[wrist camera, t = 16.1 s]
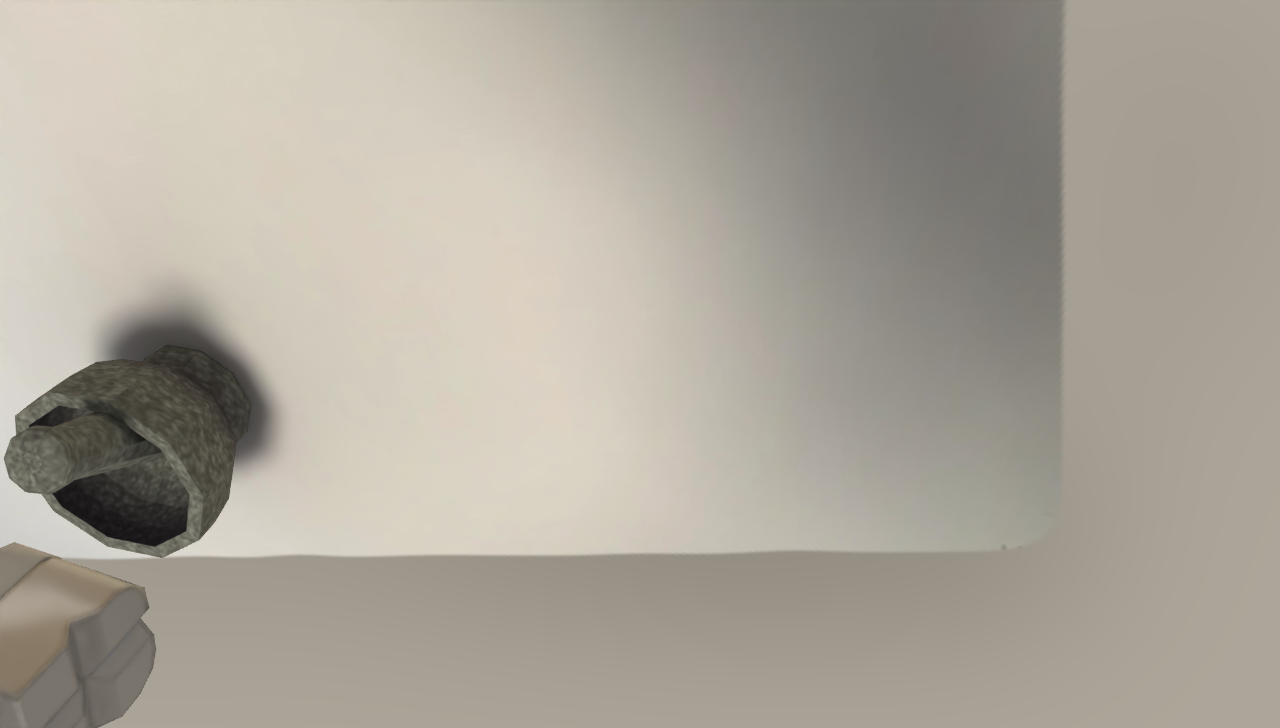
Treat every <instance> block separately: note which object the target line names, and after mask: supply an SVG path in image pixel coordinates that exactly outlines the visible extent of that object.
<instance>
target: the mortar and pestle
mask: <svg viewBox="0 0 1280 728" xmlns="http://www.w3.org/2000/svg"><path fill="white" fill-rule="evenodd" d="M250 406H251V405H250V404H249V402H248V400H247V398H246V397H245V395H244V393H243V391H242V390H241V388H240V386H239V384H238V382H237V381H236V379H235V377H234V375H233V374H232V373H230V372H229V371H228V370H226V369H225V368H223V367H222V366H221V365H219V364H218V363H216V362H215V361H214V360H212V359H211V358H209V357H208V356H207V355H205V354H204V353H202V352H201V351H197V350H191V349H185V348H179V347H172V346H165V347H163V348H161V349H160V350H158V351H157V352H155V353H154V354H152V355H151V356H149V357H148V358H146V359H145V360H144V361H143V362H137V361H131V360H125V359H121V360H112V361H103V362H96V363H94V364H92V365H90V366H88V367H86V368H84V369H82V370H81V371H79V372H77V373H75V374H73V375H71V376H70V377H68V378H67V379H65V380H64V381H62V382H61V383H59V384H58V385H56V386H55V387H54V388H52V389H51V390H49V391H48V392H46V393H45V394H43V395H42V396H40V397H39V398H38V399H36V400H35V401H34V402H32V403H31V404H30V405H28V406H27V407H26V408H25V409H23V410H22V411H21V412H19V413H18V414H17V415H16V416H15V423H16V436H14V437H13V438H11V440H10V443H9V445H8V448H7V451H6V454H5V457H4V461H5V465H6V468H7V471H8V475H9V478H10V479H11V480H12V481H13V482H14V483H16V484H17V485H18V486H19V487H20V488H22V489H23V490H24V491H25V492H28V493H38V494H42V496H43V497H44V498H45V500H46V501H47V502H48V504H49V505H50V507H51V508H52V509H53V511H55V512H56V513H58V514H59V515H61V516H62V517H64V518H65V519H67V520H68V521H70V522H71V523H73V524H74V525H76V526H77V527H79V528H80V529H82V530H83V531H85V532H86V533H88V534H89V535H91V536H92V537H94V538H95V539H97V540H99V541H100V542H102V543H103V544H105V545H106V546H108V547H112V548H117V549H122V550H127V551H131V552H136V553H141V554H146V555H151V556H156V557H161V558H163V557H165V556H167V555H169V554H171V553H173V552H176V551H178V550H180V549H182V548H184V547H186V546H188V545H190V544H192V543H194V542H196V541H198V540H200V539H201V537H202V536H203V535H204V534H205V533H206V532H207V531H208V529H209V528H210V527H211V526H212V525H213V524H214V522H215V521H216V520H217V518H218V516H219V514H220V513H221V511H222V509H223V508H224V506H225V504H226V502H227V501H228V499H229V494H230V487H231V480H232V473H233V465H234V456H235V448H236V441H238V440H239V439H240V438H241V437H242V436H243V435H244V434H245V433H246V432H247V429H248V421H249V413H250Z"/></svg>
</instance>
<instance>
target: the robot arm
mask: <svg viewBox="0 0 1280 728" xmlns="http://www.w3.org/2000/svg"><path fill="white" fill-rule="evenodd" d="M148 609H149V605H148V601H147V597H146V592H145V588H144V587H140V586H138V585H135V584H132V583H129V582H127V581H123V580H121V579H118V578H115V577H112V576H109V575H106V574H103V573H101V572H98V571H95V570H91V569H89V568H86V567H83V566H80V565H77V564H75V563H72V562H69V561H66V560H63V559H62V558H60V557H57V556H54V555H51V554H48V553H45V552H42V551H39V550H36V549H33V548H30V547H27V546H24V545H21V544H18V543H15V542H14V543H12V544H9V545H7V546H5V547H2V548H0V728H98V727H100V726H102V725H105V724H107V723H109V722H111V721H113V720H115V719H118V718H120V717H122V716H123V715H124V714H125V712H126V711H127V710H128V709H129V707H130V706H131V705H132V704H133V702H134V701H135V700H136V699H137V697H138V696H139V695H140V693H141V691H142V689H143V687H144V685H145V683H146V681H147V679H148V677H149V675H150V673H151V671H152V669H153V665H154V658H155V652H156V645H155V639H154V634H153V633H152V632H151V631H150V629H149V628H148V627H147V626H146V624H145V623H144V622H143V621H142V620H141V617H142V616H143V614H144V613H145V612H146V611H147V610H148Z"/></svg>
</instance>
